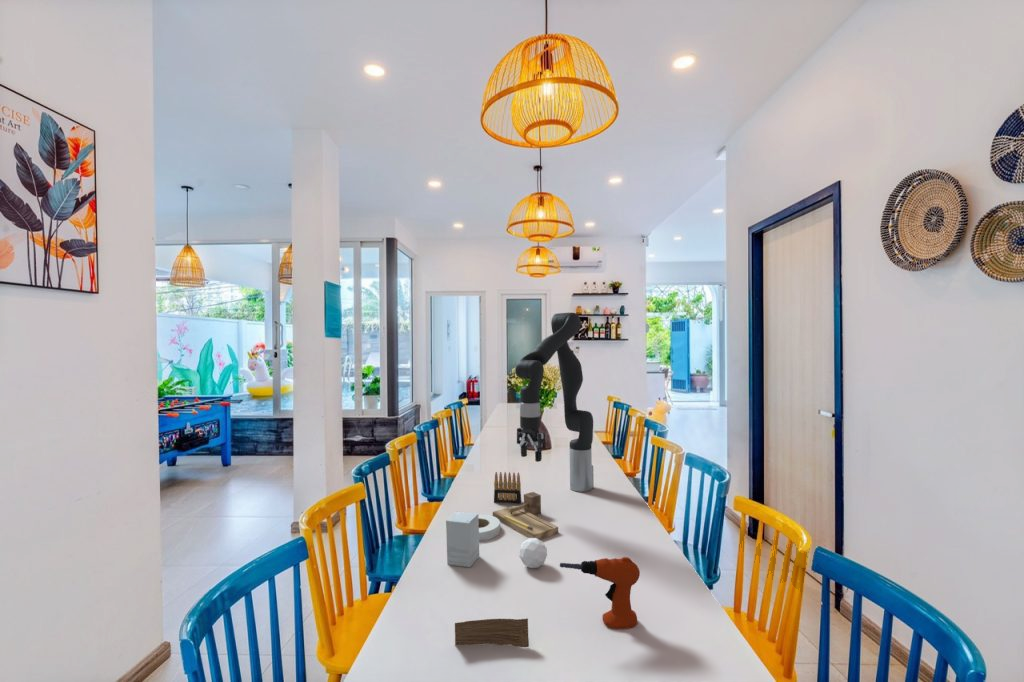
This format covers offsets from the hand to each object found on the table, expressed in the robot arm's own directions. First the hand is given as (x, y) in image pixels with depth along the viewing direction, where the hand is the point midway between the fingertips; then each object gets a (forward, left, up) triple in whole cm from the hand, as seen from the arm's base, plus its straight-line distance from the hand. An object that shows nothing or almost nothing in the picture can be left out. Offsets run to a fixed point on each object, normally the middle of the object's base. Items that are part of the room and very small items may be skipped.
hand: (531, 458), depth 165 cm
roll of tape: (+23, 0, -21) cm, 31 cm away
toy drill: (+27, +59, -20) cm, 68 cm away
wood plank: (+51, +51, -20) cm, 75 cm away
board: (+8, +6, -20) cm, 23 cm away
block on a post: (+4, 0, -20) cm, 20 cm away
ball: (+23, +30, -20) cm, 43 cm away
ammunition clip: (0, -15, -20) cm, 25 cm away
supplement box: (+37, +15, -20) cm, 45 cm away
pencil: (+12, +7, -18) cm, 23 cm away
